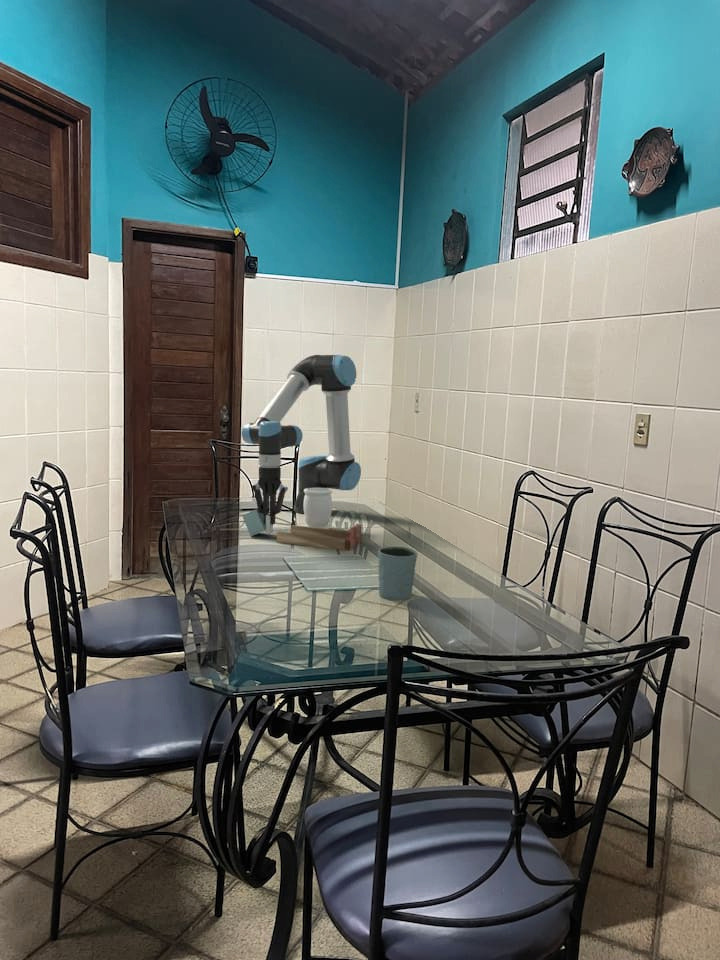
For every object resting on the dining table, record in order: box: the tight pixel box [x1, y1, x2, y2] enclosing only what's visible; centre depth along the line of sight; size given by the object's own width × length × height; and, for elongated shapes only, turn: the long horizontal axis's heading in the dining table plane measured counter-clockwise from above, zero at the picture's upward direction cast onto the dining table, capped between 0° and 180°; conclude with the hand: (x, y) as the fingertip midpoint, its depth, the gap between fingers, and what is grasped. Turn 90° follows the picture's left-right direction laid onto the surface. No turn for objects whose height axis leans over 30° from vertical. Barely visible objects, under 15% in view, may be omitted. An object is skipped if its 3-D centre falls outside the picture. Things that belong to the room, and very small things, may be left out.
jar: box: [303, 488, 333, 529], centre depth 255 cm, size 11×10×15 cm
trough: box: [276, 524, 362, 551], centre depth 236 cm, size 12×26×6 cm, turn 71°
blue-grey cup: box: [378, 546, 418, 601], centre depth 181 cm, size 10×10×12 cm
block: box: [241, 508, 266, 537], centre depth 244 cm, size 6×6×8 cm
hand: (269, 532), depth 242 cm, fingers closed
